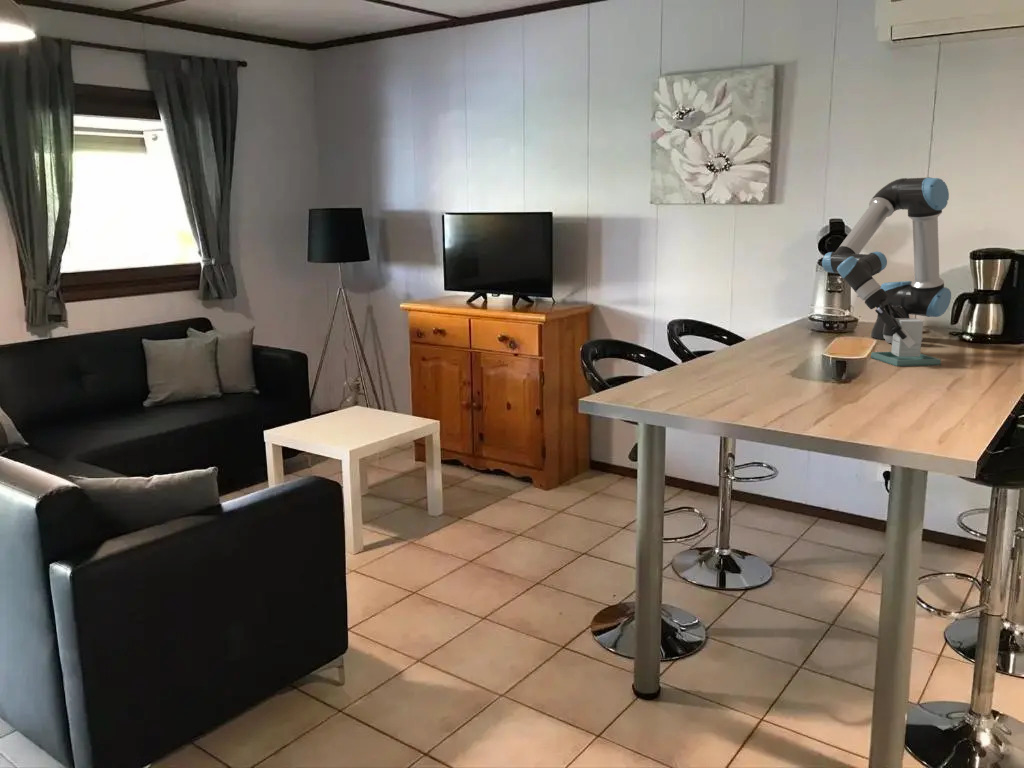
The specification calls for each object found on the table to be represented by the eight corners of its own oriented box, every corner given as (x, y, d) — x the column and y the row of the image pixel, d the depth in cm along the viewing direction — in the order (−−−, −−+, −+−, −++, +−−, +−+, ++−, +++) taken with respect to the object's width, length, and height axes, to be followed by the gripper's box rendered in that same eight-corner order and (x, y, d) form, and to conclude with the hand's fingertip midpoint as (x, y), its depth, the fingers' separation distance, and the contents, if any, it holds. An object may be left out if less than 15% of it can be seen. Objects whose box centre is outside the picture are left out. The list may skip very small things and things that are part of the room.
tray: (870, 357, 298) (871, 352, 298) (912, 356, 300) (912, 351, 300) (896, 366, 283) (897, 360, 282) (940, 365, 285) (941, 359, 284)
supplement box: (912, 353, 294) (916, 318, 292) (920, 357, 287) (924, 321, 284) (890, 353, 295) (894, 317, 292) (897, 356, 288) (901, 320, 285)
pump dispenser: (875, 342, 331) (879, 304, 328) (894, 340, 336) (898, 303, 332) (896, 346, 322) (900, 307, 319) (915, 344, 327) (920, 305, 323)
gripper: (873, 298, 305) (914, 346, 299) (854, 304, 288) (898, 354, 282) (889, 285, 301) (932, 332, 295) (872, 290, 284) (917, 340, 277)
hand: (916, 343), depth 288 cm, fingers closed on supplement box, 10 cm apart
